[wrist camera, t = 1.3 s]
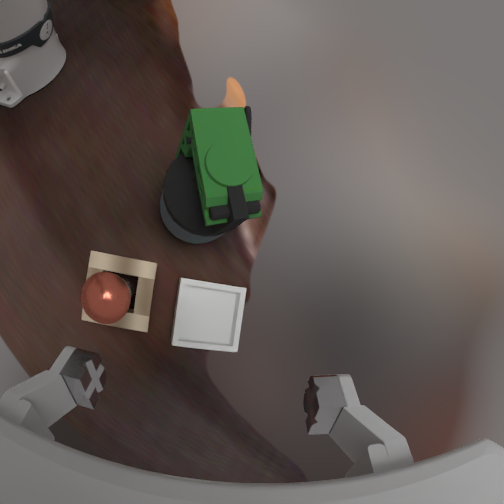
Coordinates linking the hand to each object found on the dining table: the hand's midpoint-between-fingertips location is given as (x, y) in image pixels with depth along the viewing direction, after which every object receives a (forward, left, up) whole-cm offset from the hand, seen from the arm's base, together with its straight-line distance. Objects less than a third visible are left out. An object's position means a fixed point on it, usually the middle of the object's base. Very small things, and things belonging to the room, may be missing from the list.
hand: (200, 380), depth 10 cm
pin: (-6, +1, -33) cm, 33 cm away
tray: (+7, 0, -33) cm, 33 cm away
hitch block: (-6, +1, -33) cm, 33 cm away
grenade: (+2, +16, -33) cm, 36 cm away
